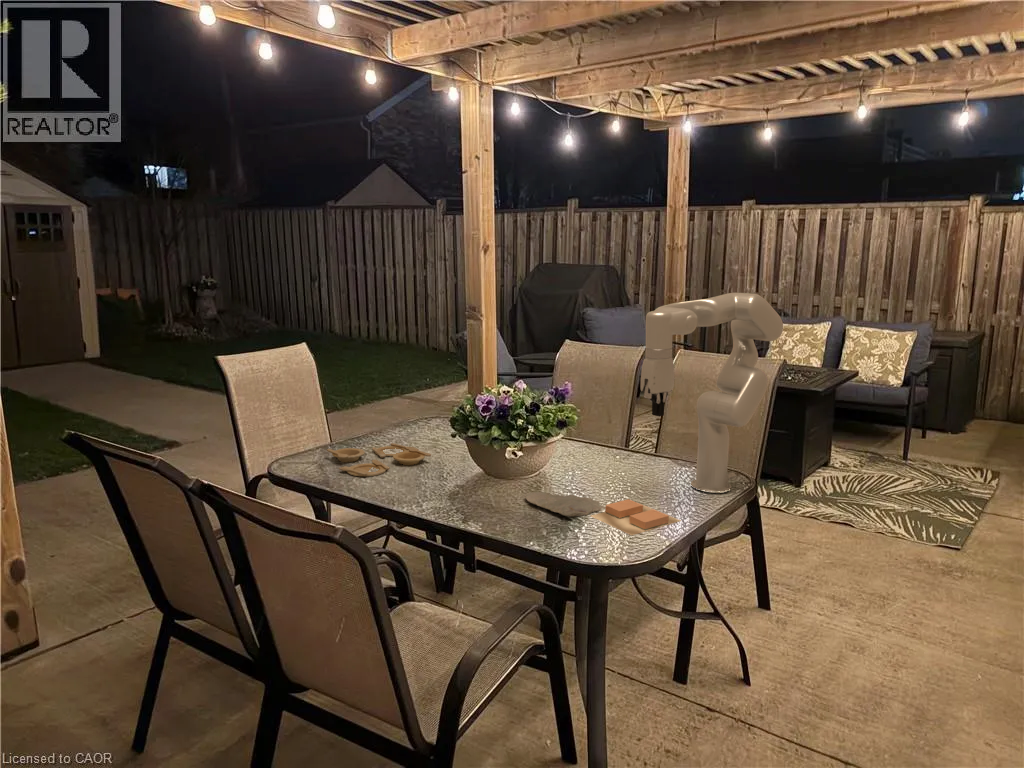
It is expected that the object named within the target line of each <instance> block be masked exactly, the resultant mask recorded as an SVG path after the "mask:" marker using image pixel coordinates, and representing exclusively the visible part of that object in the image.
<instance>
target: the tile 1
mask: <svg viewBox="0 0 1024 768" xmlns="http://www.w3.org/2000/svg"><path fill="white" fill-rule="evenodd" d="M641 504H642V503H640V504H639V502H636V501H633V500H632V499H629V498H628V499H623V500H620V501H617V502H616V501H615V502H612V503H608V504H605V506H604V509H605V510H604V512H607V513H608V514H610V515H613V516H615V517H617V518H619V519H620V518H623V517H627V516H630V515H634V514H638V513H641V512H643V505H644V504H642V505H641Z"/></svg>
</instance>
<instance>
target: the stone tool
mask: <svg viewBox="0 0 1024 768" xmlns="http://www.w3.org/2000/svg"><path fill="white" fill-rule="evenodd" d="M524 497H525V500H527V502H528V503H530V504H532V505H536V506H538V507H540V508H543V509H546V510H549V511H551V512H552V513H553V512H554V513H558V514H560V515H562V516H565V517H575V518H576V517H586V516H588V515H589V516H590V515H591V514H592V513H597V512H600V511H602V509H605V506H604V505H600V501H599V500H594V498H591V497H587V496H584V497H583V496H577V495H574V494H569V495H562V494H552V493H549V492H546V491H533V492H532V491H530V492H527V493H526V494H524Z"/></svg>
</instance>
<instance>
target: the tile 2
mask: <svg viewBox="0 0 1024 768" xmlns="http://www.w3.org/2000/svg"><path fill="white" fill-rule="evenodd" d="M658 511H659V510H657V511H656V509H654V508H652V510H649V511H645V512H641V513H638V514H634V515H630V519H629V523H631V524H633V525H635V526H637V527H639V528H642V529H644V530H646V529H650V528H653V527H657V526H660V525H664V524H667V523H668V521H669V516H670V515H669V514H666V513H664V512H662V513H661V511H659V512H658ZM663 513H664V514H663ZM668 515H669V516H668Z"/></svg>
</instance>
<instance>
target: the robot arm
mask: <svg viewBox="0 0 1024 768" xmlns="http://www.w3.org/2000/svg"><path fill="white" fill-rule="evenodd" d="M728 322H730V331H731V336H732V337H731V338H732V349H731V352H730V354H729V356H728V358H727V360H726V361H725V363H724V365H723V366H722V367H721V370H720V371H719V373H718V375H717V378H716V382H715V383H716V384H715V385H716V387H717V389H719V390H720V391H717V390H709V391H705V392H702V394H700V395H699V397H698V398H697V401H696V411H697V412H696V413H697V419H698V439H697V455H696V456H697V458H696V474H695V479H694V480H692V481H691V482H690V486H691V485H692V486H693V487H695V488H697V489H700V490H705V491H725V490H729V489H730V488H731V489H732V485H731V484H730V483H729V481H730V480H733V479H736V473H735V472H730V473H728V466H729V447H730V433H729V429H728V426H731V427H734V428H735V427H737V428H741V427H744V426H746V425H747V424H748V423H749V422H750V421H751V419H752V418H753V416H754V414H755V412H756V411H757V409H758V407H759V405H760V403H761V402H762V400H763V398H764V396H765V394H766V392H767V390H768V387H769V386H768V384H769V379H768V376H767V373H766V372H765V371H764V370H762V369H761V368H759V367H755V366H756V364H757V362H758V360H759V353H758V349H757V347H756V344H755V341H754V340H757V341H765V342H774V341H777V340H778V339H779V338H780V337H781V336H782V334H783V332H784V323H783V320H782V317H781V316H780V315H779V313H778V312H777V311H776V310H775V309H774V308H773V307H772V305H771V304H770V303H769V302H768V301H767V300H766V299H765V298H764V297H762V295H760V294H757V293H748V292H747V293H746V292H728V293H723V294H721V295H717V296H713V297H712V296H711V297H708V298H703V299H701V298H700V299H694V300H688V301H681V302H673V303H669V304H666V305H661V306H659V307H657V308H655V310H652V311H649V312H647V314H646V315H645V358H644V359H643V362H642V365H641V373H640V391H641V392H642V393H643V397H644V398H645V399H649V400H650V403H651V415H652V416H656V417H664V416H665V403H666V401H667V396H669V395H671V394H672V393H673V389H674V388H675V366H674V365H675V364H674V358H673V335H674V336H675V335H680V336H681V335H682V336H685V335H689V334H692V333H693V332H694V331H695V330H696V329H697V327H700V328H701V327H703V328H706V327H707V328H708V327H714V326H718V325H720V324H723V323H728ZM721 391H722V392H721Z"/></svg>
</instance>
